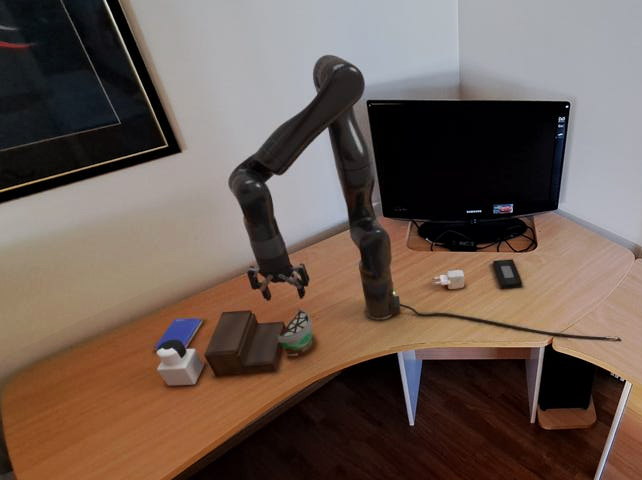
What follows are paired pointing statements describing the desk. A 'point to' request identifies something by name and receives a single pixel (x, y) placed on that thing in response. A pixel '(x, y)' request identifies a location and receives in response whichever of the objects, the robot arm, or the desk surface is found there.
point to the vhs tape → (507, 274)
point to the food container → (297, 335)
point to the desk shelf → (244, 345)
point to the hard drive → (181, 331)
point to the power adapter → (451, 279)
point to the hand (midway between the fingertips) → (285, 297)
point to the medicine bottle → (178, 363)
